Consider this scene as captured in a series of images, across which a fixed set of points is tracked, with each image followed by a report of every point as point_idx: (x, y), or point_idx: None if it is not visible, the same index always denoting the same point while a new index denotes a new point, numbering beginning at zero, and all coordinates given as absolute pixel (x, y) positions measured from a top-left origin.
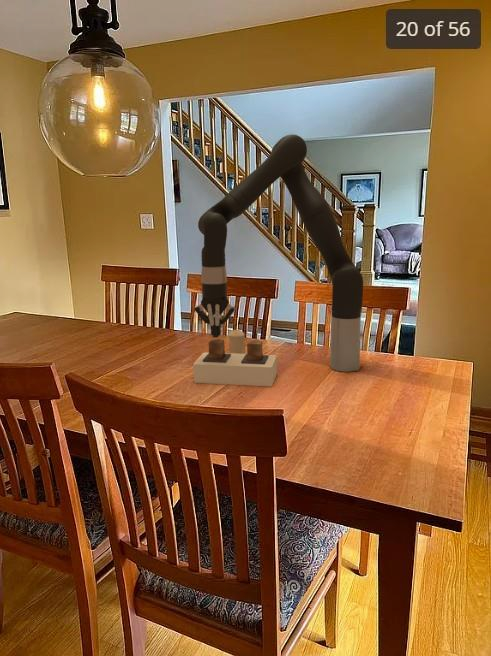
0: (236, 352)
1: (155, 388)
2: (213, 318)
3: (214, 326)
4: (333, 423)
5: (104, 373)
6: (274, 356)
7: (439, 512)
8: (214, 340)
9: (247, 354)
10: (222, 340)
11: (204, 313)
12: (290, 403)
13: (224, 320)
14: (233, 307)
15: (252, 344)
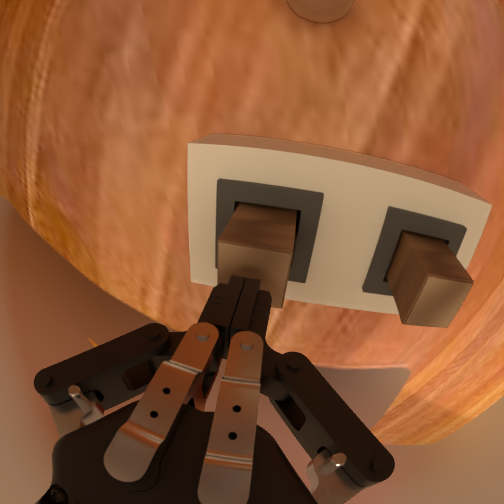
0: (323, 13)
1: (138, 276)
2: (205, 398)
3: (226, 356)
4: (444, 388)
5: (24, 192)
6: (481, 221)
7: (428, 444)
8: (238, 269)
9: (392, 293)
10: (284, 273)
11: (113, 380)
12: (425, 351)
13: (293, 408)
14: (366, 487)
15: (422, 325)
